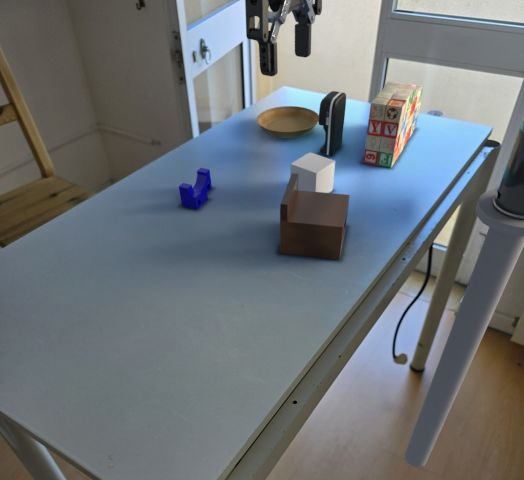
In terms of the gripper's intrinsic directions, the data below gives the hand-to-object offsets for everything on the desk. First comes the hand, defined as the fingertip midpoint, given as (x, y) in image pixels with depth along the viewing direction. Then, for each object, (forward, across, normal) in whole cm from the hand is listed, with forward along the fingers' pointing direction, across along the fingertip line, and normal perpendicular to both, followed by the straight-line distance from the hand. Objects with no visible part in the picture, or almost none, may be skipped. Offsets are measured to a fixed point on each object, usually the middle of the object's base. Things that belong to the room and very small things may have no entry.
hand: (286, 65), depth 64 cm
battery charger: (+27, +33, +10) cm, 44 cm away
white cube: (+27, +15, +4) cm, 31 cm away
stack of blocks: (+27, +42, -1) cm, 50 cm away
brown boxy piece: (+27, +1, -5) cm, 27 cm away
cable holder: (+26, +2, +21) cm, 34 cm away
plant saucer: (+27, +37, +23) cm, 51 cm away
